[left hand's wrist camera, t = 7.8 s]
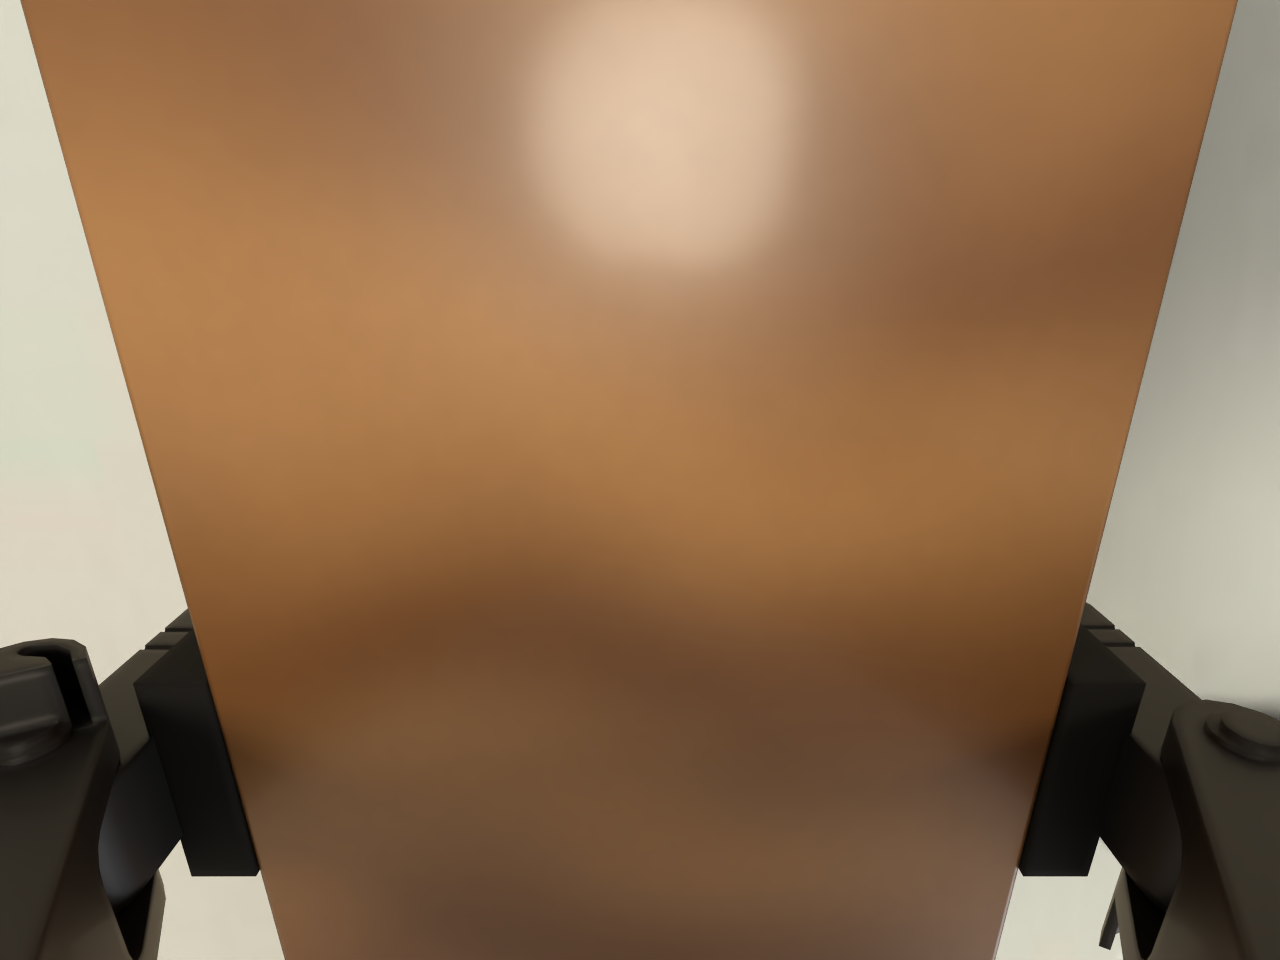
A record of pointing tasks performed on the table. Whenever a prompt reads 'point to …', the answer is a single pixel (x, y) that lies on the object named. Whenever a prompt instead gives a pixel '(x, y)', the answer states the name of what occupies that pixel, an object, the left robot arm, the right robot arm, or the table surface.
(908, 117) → the thick board
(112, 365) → the table surface
